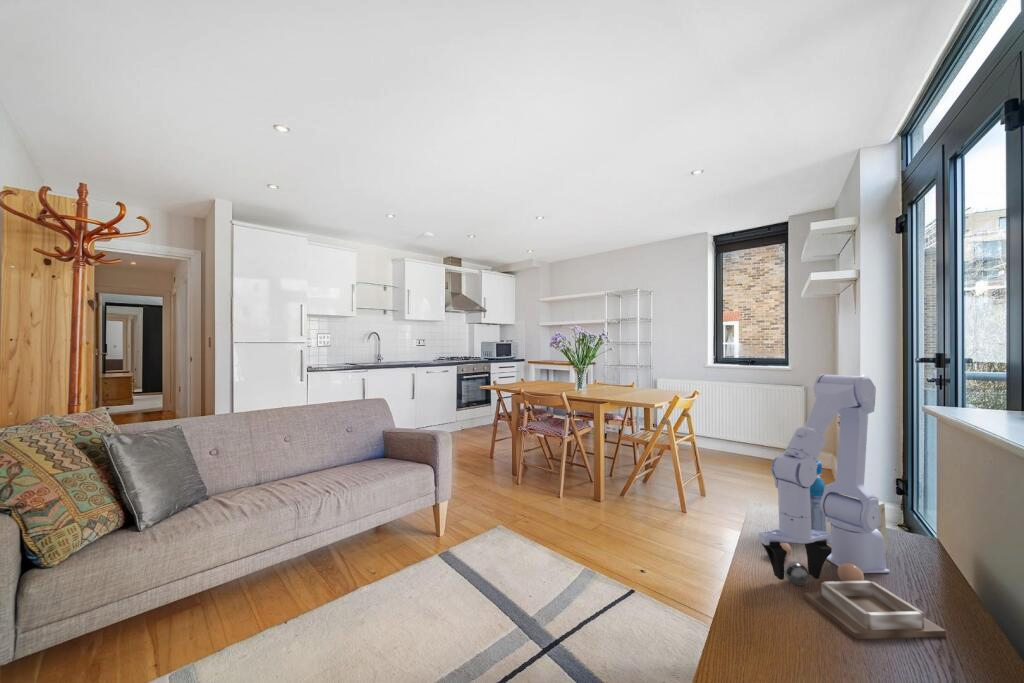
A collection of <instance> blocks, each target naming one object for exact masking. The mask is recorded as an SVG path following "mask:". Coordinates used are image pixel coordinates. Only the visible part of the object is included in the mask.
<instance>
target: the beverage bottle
mask: <svg viewBox="0 0 1024 683" xmlns="http://www.w3.org/2000/svg"><path fill="white" fill-rule="evenodd" d="M816 462H817V464H818V465H817V466H818V467H817V475H816V480H815V481H814V483H813V484H812V485H811V486H810V508H811V530H816V531H826V532H828V528H827V525H828V524H827V517H825V516H824V515H823V513H822V511H821V508H820V501H821V498H822V496H823V493H824V487H825V486H826V484H825V482H824V480H823V478H821V476H822V473H823V465H822V462H821V461H820V460H818V459H817V461H816Z"/></svg>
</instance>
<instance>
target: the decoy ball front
mask: <svg viewBox="0 0 1024 683" xmlns="http://www.w3.org/2000/svg"><path fill="white" fill-rule="evenodd" d="M780 545H781V546H782V548H783V549H784V550H785V551H787V554H786V557H785V559H787V558H789V557H790V556H791V554H792V548H791V546H790V543H780Z"/></svg>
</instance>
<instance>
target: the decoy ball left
mask: <svg viewBox="0 0 1024 683" xmlns="http://www.w3.org/2000/svg"><path fill="white" fill-rule="evenodd" d="M864 574H865V573H863V572H862V571H861V570H860V568H858V567H857V566H856V565H854V564H851V563H843V564H841V565H840V566H839V567H838V566H837V576H838V577H839V579H840V581H865V575H864Z"/></svg>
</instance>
